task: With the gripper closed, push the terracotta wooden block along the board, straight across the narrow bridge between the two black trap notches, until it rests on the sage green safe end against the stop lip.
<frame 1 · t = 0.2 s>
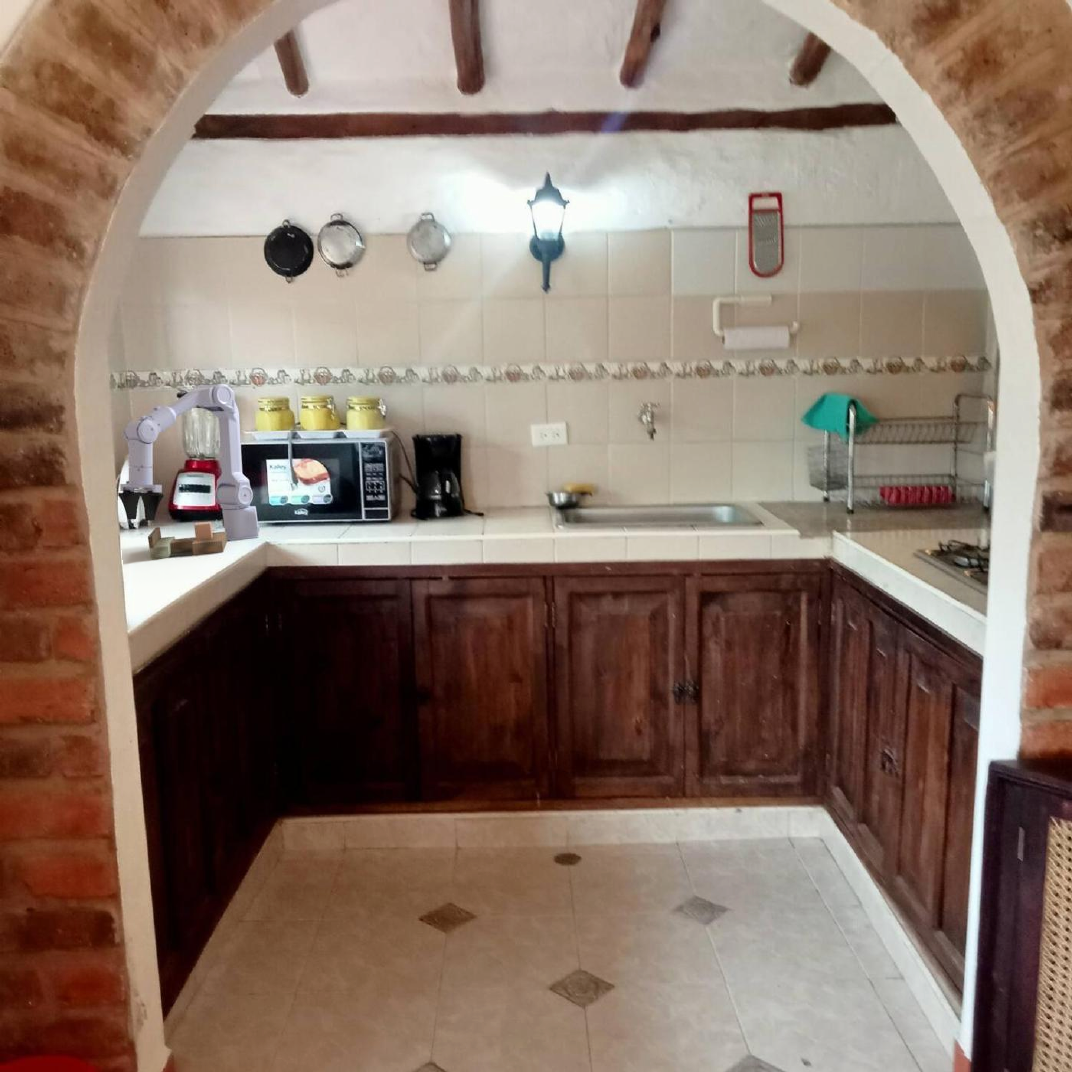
hand: (140, 519, 244), 10 cm above the worktop, tool pointing down, fingers open, 7 cm apart
block: (204, 537, 255), point 3 cm above the worktop, touching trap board
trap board: (190, 550, 255), on the worktop
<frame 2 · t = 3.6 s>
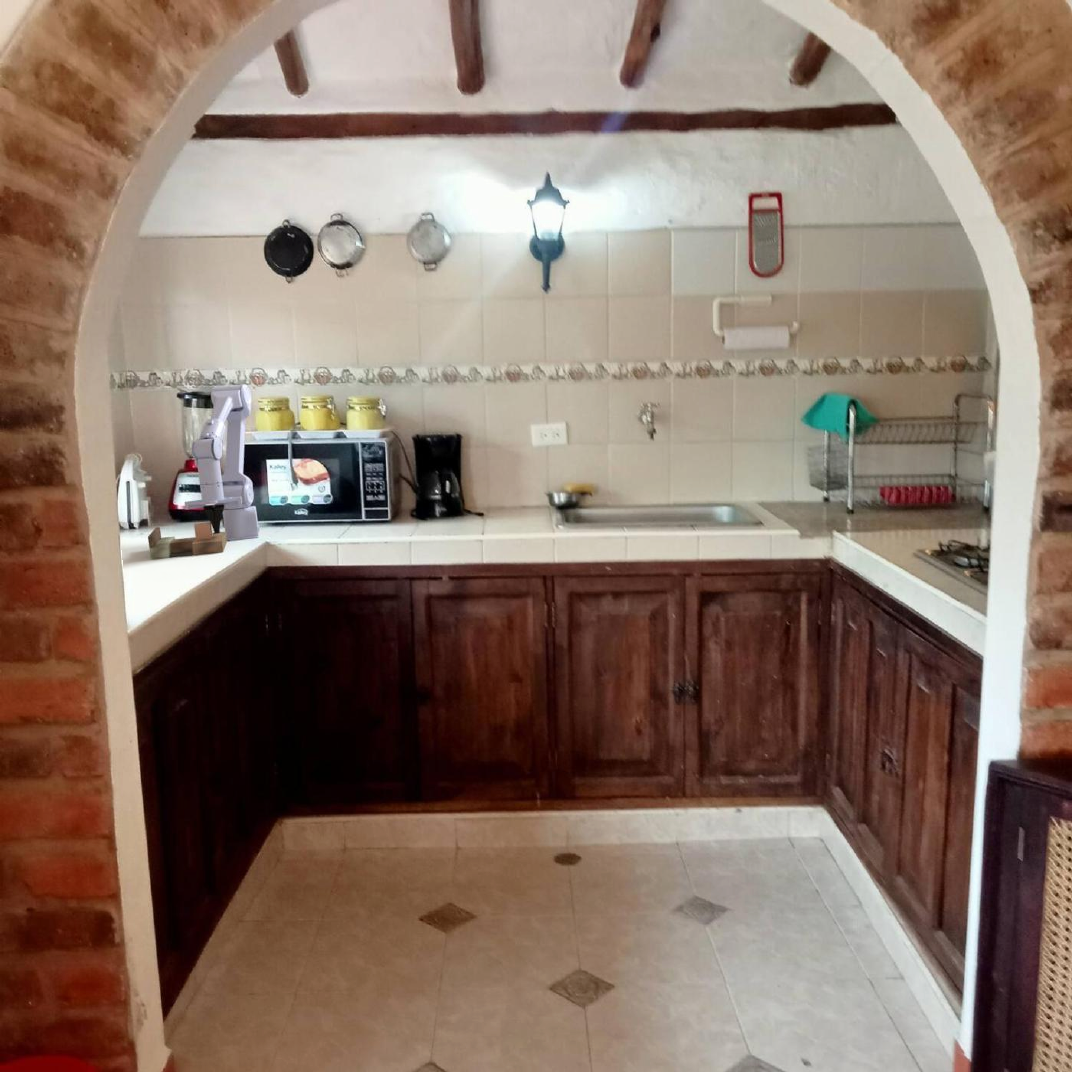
hand: (217, 533, 256), 4 cm above the worktop, tool pointing down, fingers closed
block: (204, 537, 255), point 3 cm above the worktop, touching gripper, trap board
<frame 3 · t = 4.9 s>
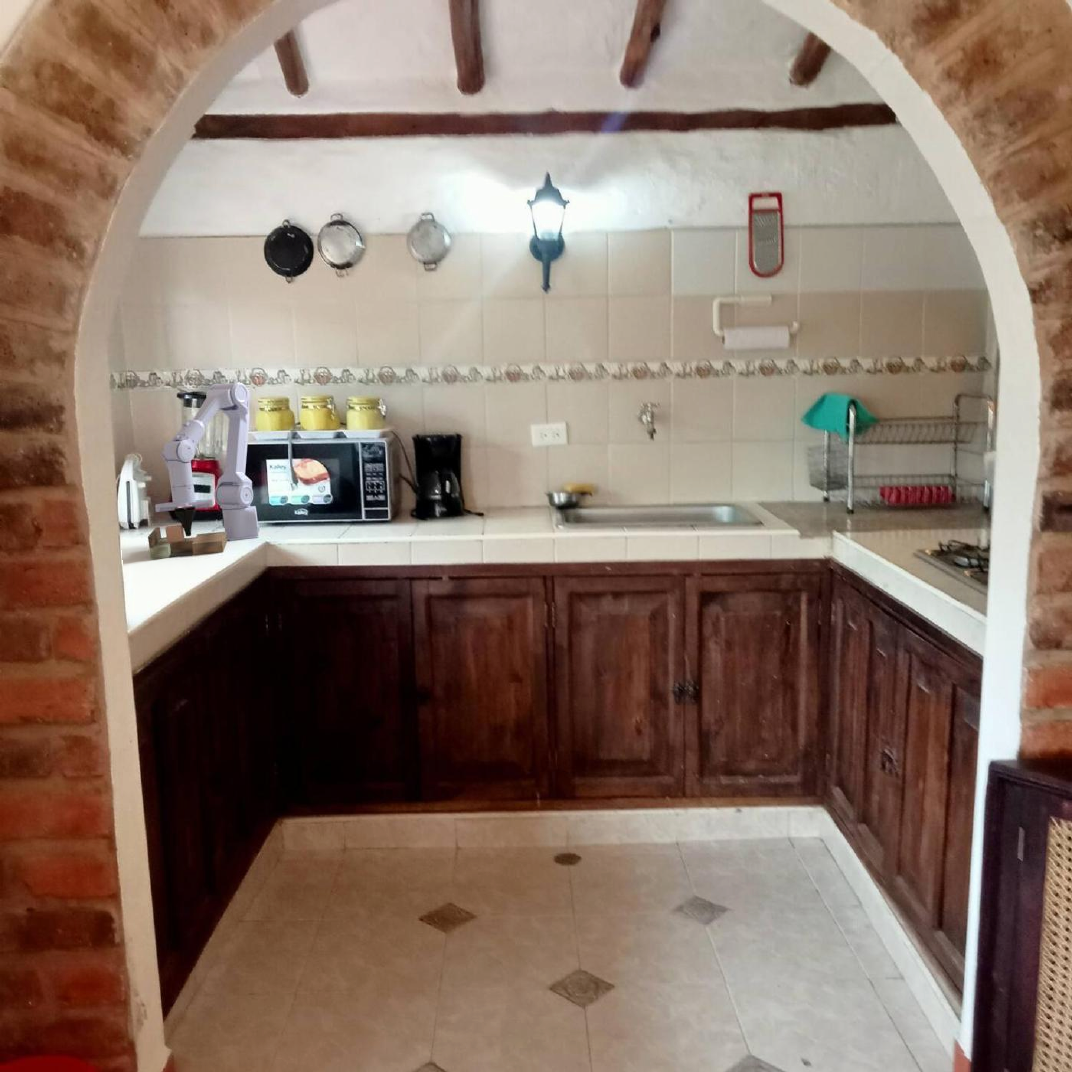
hand: (188, 535, 254), 4 cm above the worktop, tool pointing down, fingers closed
block: (176, 540, 253), point 3 cm above the worktop, touching gripper, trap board
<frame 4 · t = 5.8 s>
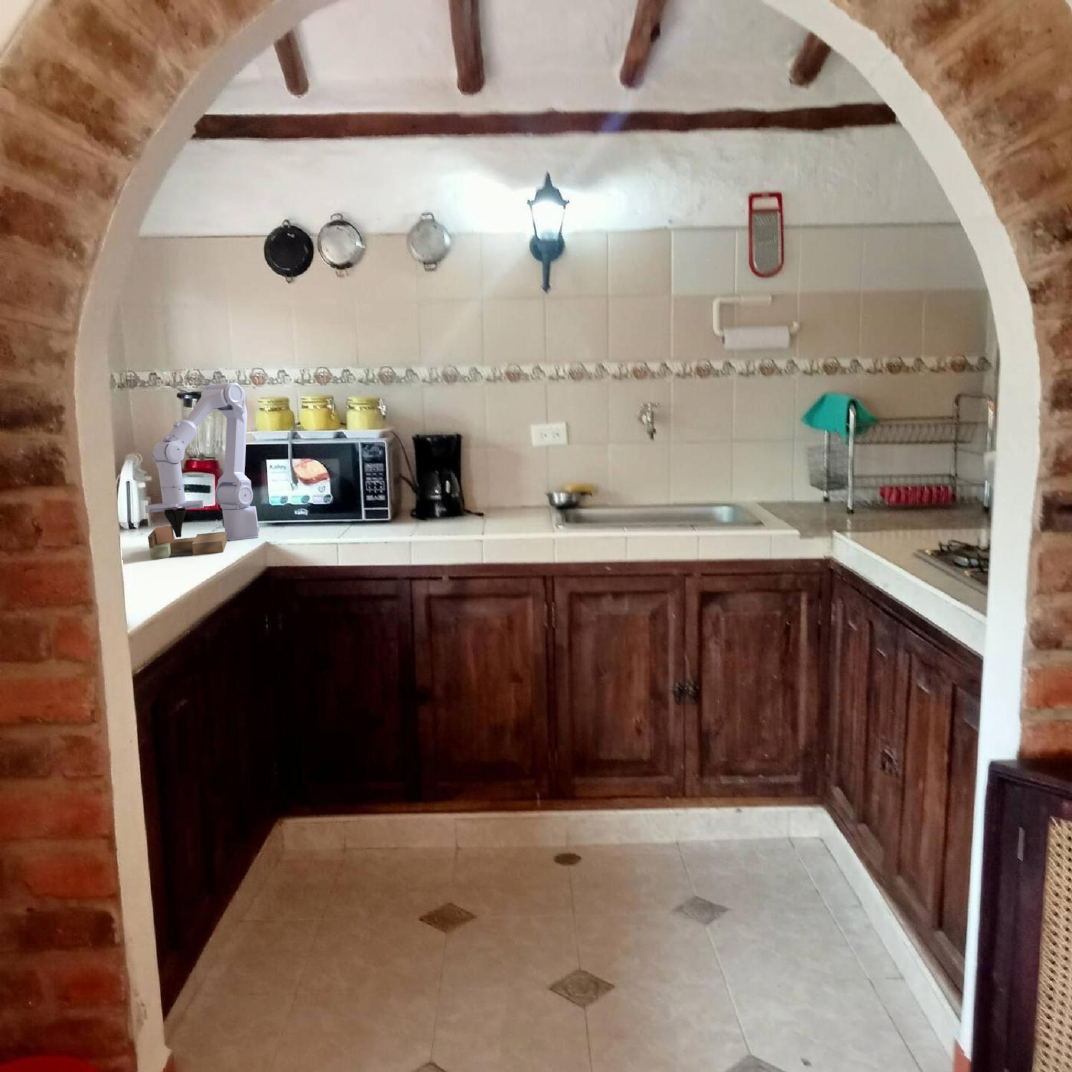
hand: (178, 536, 253), 4 cm above the worktop, tool pointing down, fingers closed
block: (165, 541, 253), point 3 cm above the worktop, touching gripper, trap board
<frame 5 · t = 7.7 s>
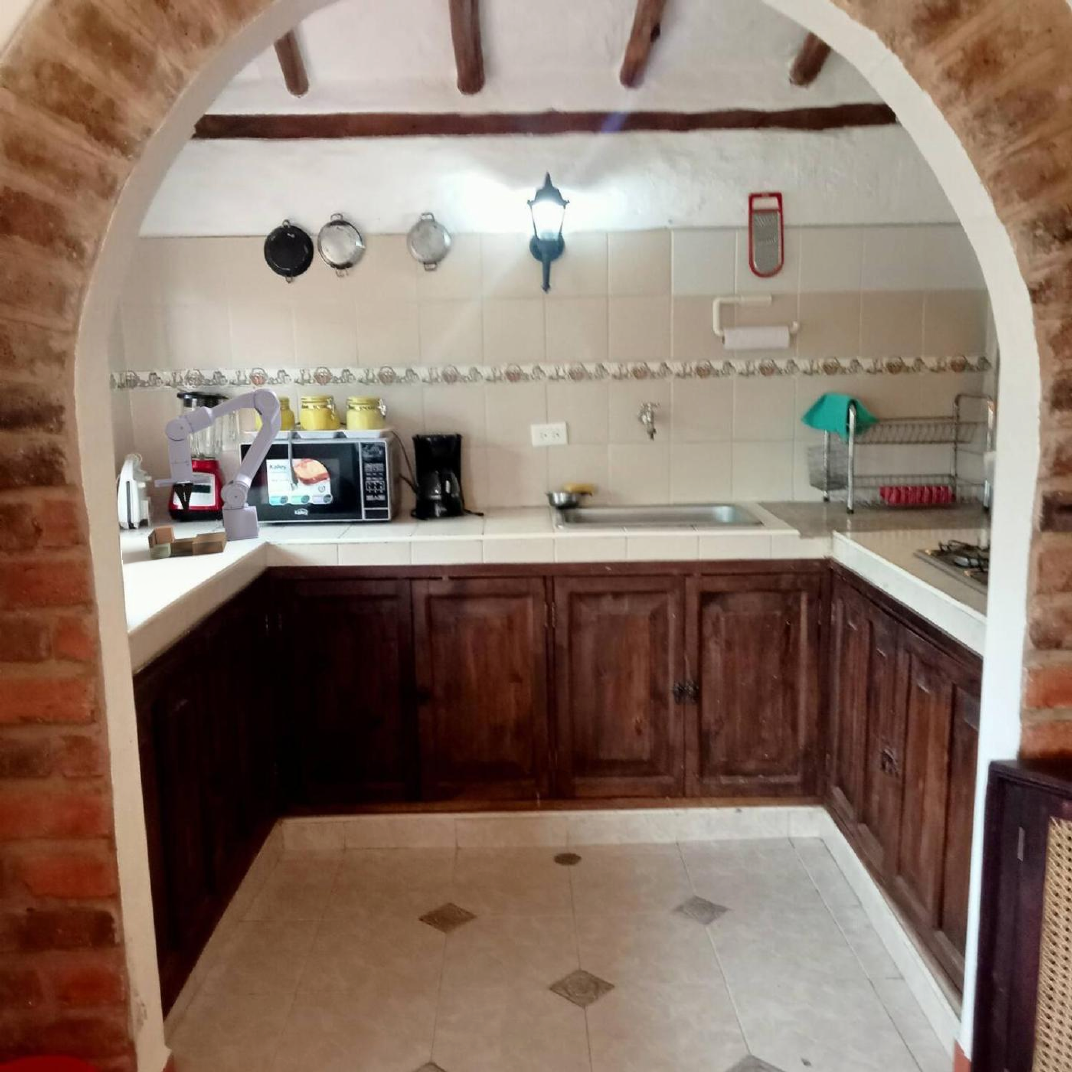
hand: (186, 510, 264), 9 cm above the worktop, tool pointing down, fingers closed
block: (165, 541, 253), point 3 cm above the worktop, touching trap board
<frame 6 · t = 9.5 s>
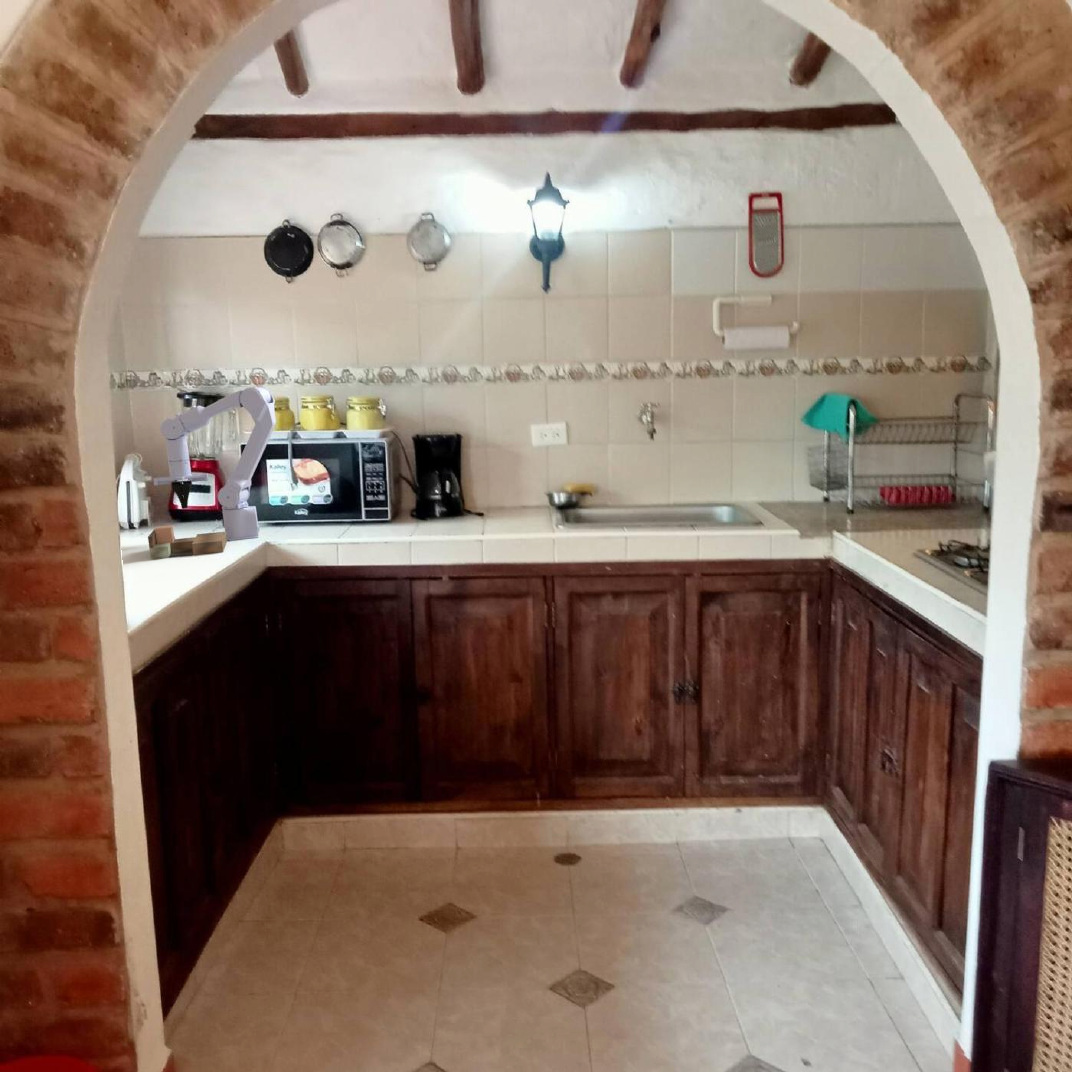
hand: (184, 508, 270), 9 cm above the worktop, tool pointing down, fingers closed
nothing on the worktop moved.
at the end: block 0.1 cm from the target spot, point 3.0 cm above the worktop; block tilted 0° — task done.
